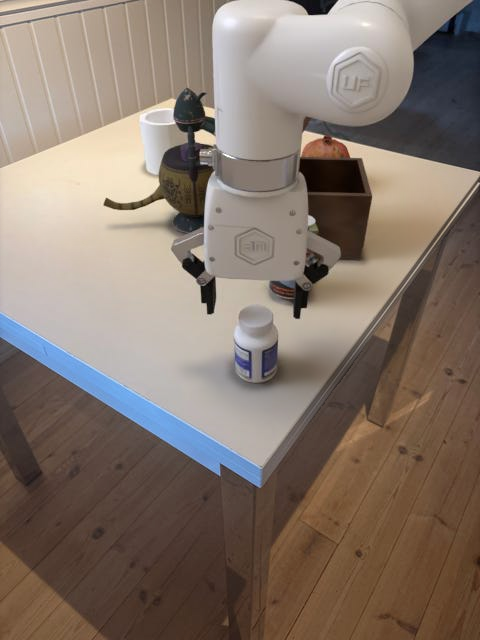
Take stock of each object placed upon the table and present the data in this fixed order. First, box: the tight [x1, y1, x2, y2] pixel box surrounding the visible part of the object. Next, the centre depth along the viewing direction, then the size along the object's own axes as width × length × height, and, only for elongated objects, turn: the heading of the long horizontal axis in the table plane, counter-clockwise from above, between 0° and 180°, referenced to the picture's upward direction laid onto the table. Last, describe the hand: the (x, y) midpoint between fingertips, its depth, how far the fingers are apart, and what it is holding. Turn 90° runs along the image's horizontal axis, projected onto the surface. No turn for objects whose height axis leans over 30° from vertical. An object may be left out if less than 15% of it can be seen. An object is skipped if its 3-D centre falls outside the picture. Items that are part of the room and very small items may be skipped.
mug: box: [138, 107, 188, 176], centre depth 106 cm, size 14×10×11 cm
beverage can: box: [268, 215, 318, 300], centre depth 70 cm, size 6×7×12 cm
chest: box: [299, 156, 373, 261], centre depth 81 cm, size 16×14×11 cm
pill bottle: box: [233, 304, 279, 384], centre depth 59 cm, size 5×5×9 cm
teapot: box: [103, 87, 216, 235], centre depth 81 cm, size 12×25×23 cm, turn 95°
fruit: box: [300, 133, 351, 158], centre depth 97 cm, size 11×10×10 cm
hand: (253, 308), depth 55 cm, fingers open, 9 cm apart
